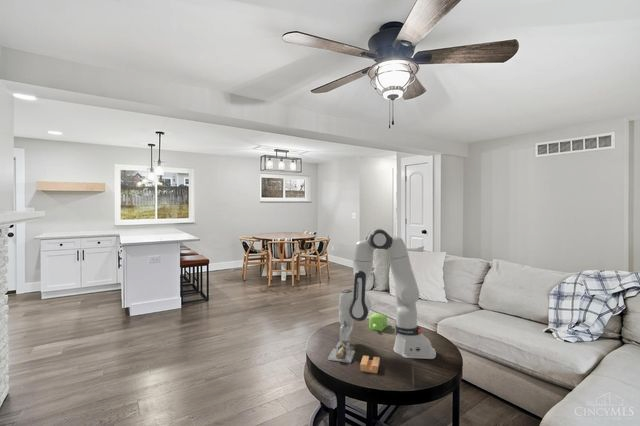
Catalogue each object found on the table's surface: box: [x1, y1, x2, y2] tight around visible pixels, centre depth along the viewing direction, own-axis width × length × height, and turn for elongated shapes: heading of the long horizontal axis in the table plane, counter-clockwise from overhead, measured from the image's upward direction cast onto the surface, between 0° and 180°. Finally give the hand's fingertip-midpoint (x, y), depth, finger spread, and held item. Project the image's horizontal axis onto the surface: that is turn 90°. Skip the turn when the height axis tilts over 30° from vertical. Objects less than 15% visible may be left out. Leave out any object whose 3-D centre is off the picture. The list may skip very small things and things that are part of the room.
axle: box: [336, 342, 346, 359], centre depth 172 cm, size 14×3×3 cm, turn 165°
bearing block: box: [327, 340, 356, 364], centre depth 172 cm, size 12×12×6 cm
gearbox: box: [368, 312, 388, 332], centre depth 213 cm, size 18×10×10 cm, turn 149°
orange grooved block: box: [359, 354, 381, 374], centre depth 160 cm, size 8×10×4 cm
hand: (346, 343), depth 184 cm, fingers open, 8 cm apart
